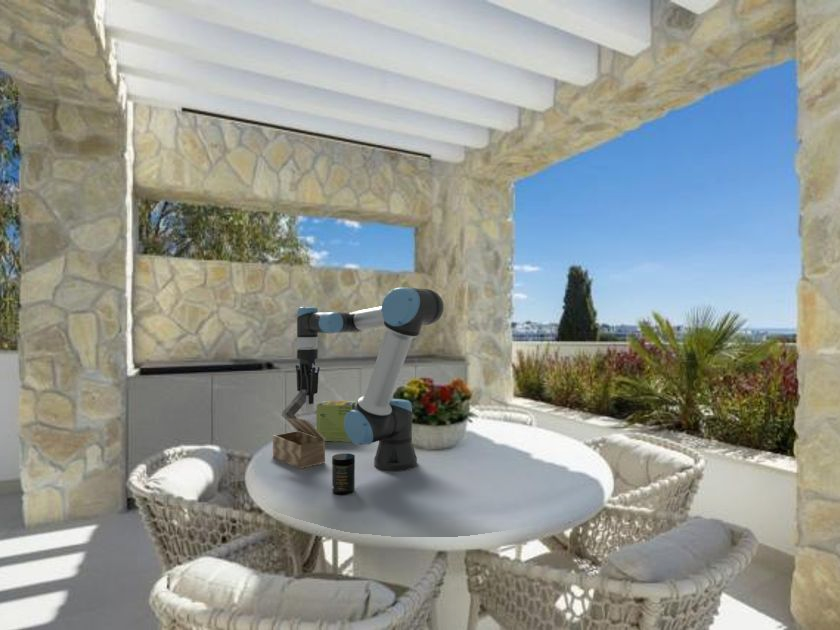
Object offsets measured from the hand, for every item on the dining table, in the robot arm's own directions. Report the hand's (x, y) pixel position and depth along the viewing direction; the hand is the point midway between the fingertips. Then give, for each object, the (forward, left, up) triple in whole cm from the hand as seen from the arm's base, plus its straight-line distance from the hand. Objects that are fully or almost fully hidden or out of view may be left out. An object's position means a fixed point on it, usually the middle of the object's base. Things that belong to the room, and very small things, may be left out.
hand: (307, 411), depth 175 cm
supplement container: (-38, +10, -17) cm, 43 cm away
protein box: (+16, -23, -17) cm, 33 cm away
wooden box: (0, +4, -17) cm, 18 cm away
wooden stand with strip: (0, +4, -4) cm, 6 cm away
